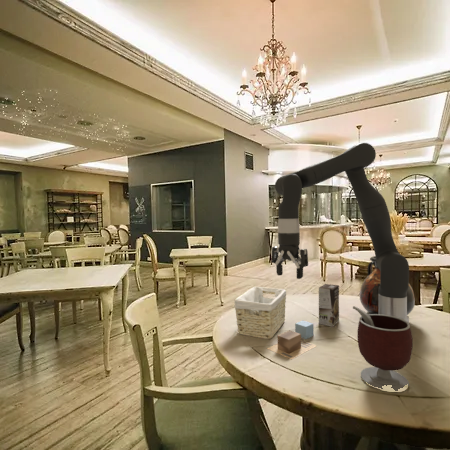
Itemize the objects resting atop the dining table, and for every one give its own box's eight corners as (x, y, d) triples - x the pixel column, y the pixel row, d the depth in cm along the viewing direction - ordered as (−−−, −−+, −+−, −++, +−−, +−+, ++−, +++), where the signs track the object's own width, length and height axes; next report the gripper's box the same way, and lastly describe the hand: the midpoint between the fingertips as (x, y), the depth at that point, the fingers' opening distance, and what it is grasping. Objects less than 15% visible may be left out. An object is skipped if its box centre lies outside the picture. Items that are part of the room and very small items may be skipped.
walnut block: (301, 347, 107) (300, 334, 107) (289, 353, 103) (288, 339, 103) (289, 343, 111) (289, 330, 111) (277, 349, 107) (277, 335, 106)
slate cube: (313, 336, 118) (313, 323, 118) (306, 339, 114) (306, 326, 114) (302, 332, 122) (302, 320, 121) (295, 335, 118) (295, 323, 118)
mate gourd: (416, 378, 86) (416, 310, 86) (406, 401, 76) (406, 324, 75) (360, 361, 97) (360, 300, 96) (345, 379, 86) (344, 311, 86)
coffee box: (333, 327, 126) (333, 289, 126) (318, 324, 130) (317, 287, 129) (339, 320, 133) (339, 285, 133) (325, 318, 137) (325, 283, 137)
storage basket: (271, 342, 113) (271, 303, 112) (233, 335, 120) (232, 299, 120) (287, 321, 134) (287, 288, 134) (254, 316, 142) (253, 285, 141)
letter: (317, 346, 109) (317, 345, 109) (291, 359, 99) (291, 359, 99) (292, 336, 117) (292, 336, 117) (266, 348, 107) (266, 348, 107)
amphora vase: (426, 324, 126) (427, 259, 125) (390, 333, 118) (389, 263, 117) (383, 310, 146) (382, 253, 145) (349, 316, 138) (348, 256, 137)
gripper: (312, 231, 103) (312, 278, 103) (279, 230, 114) (280, 272, 114) (299, 232, 98) (299, 281, 99) (266, 231, 109) (267, 275, 109)
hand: (289, 276), depth 106 cm, fingers open, 8 cm apart
